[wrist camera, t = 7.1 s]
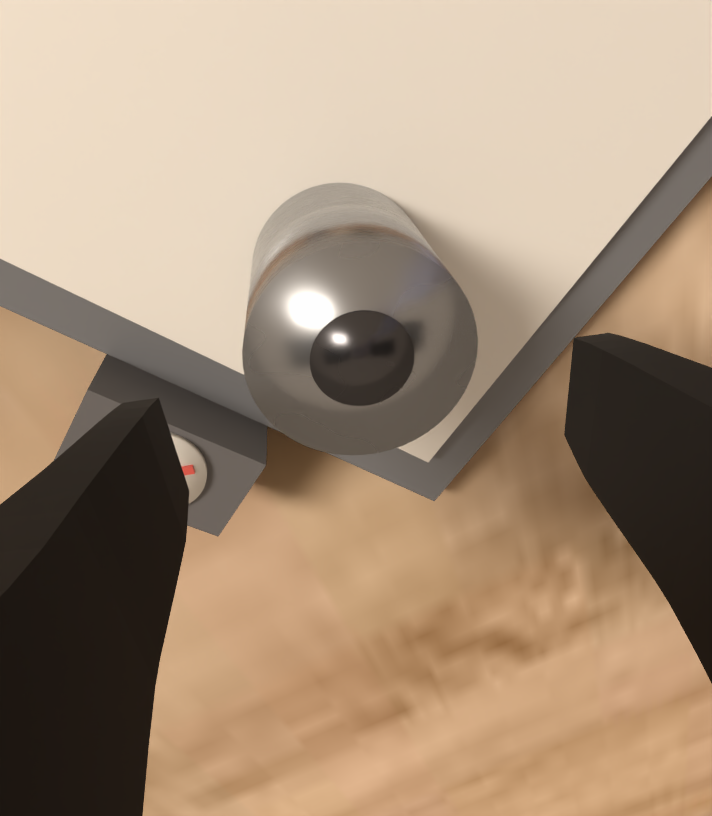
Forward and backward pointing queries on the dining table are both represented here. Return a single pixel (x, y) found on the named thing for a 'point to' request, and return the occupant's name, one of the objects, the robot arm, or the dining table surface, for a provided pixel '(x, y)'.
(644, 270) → the dining table surface
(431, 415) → the steel spacer
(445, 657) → the dining table surface
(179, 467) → the robot arm
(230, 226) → the kitchen scale
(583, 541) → the dining table surface
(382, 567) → the dining table surface
